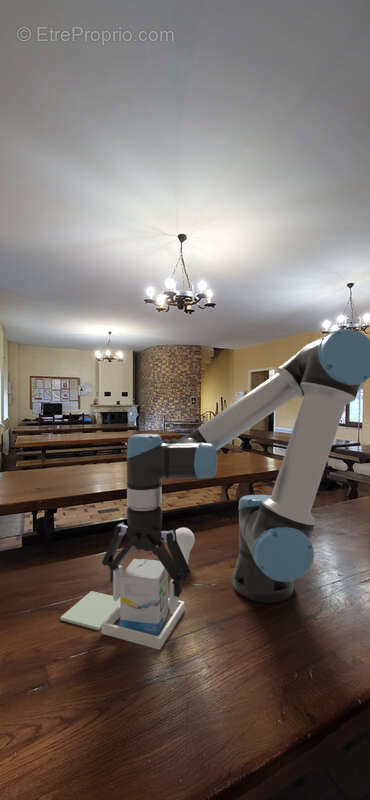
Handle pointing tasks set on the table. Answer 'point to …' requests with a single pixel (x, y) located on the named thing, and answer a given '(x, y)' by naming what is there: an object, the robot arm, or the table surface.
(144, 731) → the table surface
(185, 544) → the light bulb
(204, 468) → the robot arm
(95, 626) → the mat
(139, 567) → the ink box
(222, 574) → the table surface
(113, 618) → the tray rim
